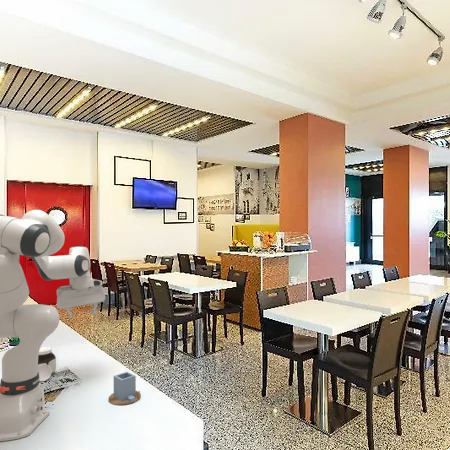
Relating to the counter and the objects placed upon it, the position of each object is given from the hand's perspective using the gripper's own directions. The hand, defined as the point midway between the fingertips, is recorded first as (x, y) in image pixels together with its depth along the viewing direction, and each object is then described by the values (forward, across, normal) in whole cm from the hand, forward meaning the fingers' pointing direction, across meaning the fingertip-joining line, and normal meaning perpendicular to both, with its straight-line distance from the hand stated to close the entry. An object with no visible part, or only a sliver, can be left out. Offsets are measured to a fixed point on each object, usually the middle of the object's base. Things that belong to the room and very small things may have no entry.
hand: (82, 315), depth 166 cm
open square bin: (+29, +3, -28) cm, 41 cm away
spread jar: (+26, -12, +17) cm, 33 cm away
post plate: (+30, +3, -27) cm, 40 cm away
